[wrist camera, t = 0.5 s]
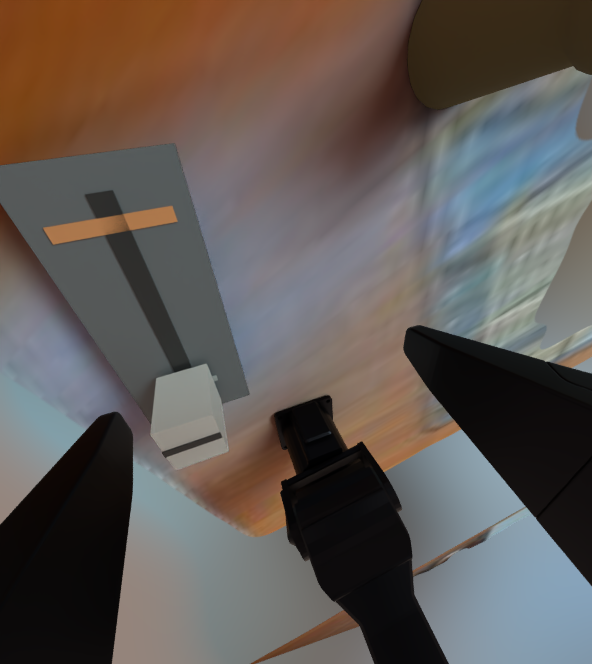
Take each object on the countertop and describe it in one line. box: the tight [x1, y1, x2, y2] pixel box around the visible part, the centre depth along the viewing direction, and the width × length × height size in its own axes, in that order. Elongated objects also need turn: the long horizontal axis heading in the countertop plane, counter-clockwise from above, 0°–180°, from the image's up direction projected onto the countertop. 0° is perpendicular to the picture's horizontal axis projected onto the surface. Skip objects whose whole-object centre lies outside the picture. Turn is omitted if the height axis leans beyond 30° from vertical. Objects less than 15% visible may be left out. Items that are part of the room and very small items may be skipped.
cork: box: [407, 0, 592, 110], centre depth 12 cm, size 6×6×11 cm
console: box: [0, 143, 250, 423], centre depth 18 cm, size 18×8×2 cm, turn 6°
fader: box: [150, 364, 229, 470], centre depth 19 cm, size 4×4×5 cm
